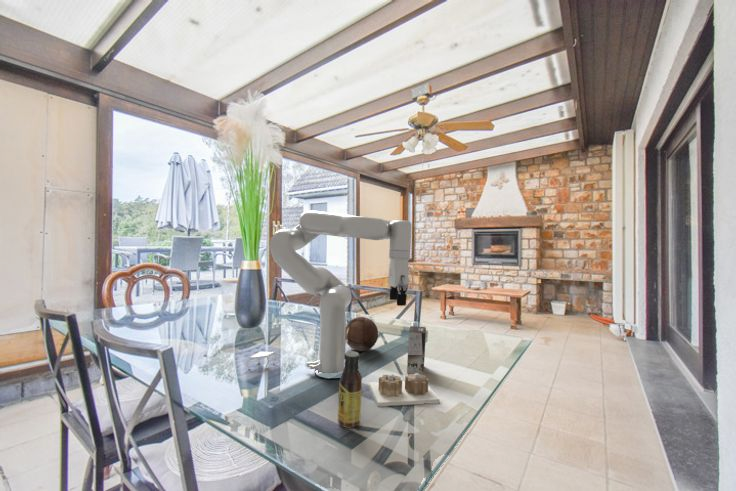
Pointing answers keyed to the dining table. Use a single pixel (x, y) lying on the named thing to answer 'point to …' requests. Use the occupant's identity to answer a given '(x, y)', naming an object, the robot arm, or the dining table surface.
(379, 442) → the dining table surface
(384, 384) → the beech gear
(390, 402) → the gear board
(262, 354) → the origami figure
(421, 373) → the coffee box
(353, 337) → the wooden sphere
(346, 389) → the sauce bottle
